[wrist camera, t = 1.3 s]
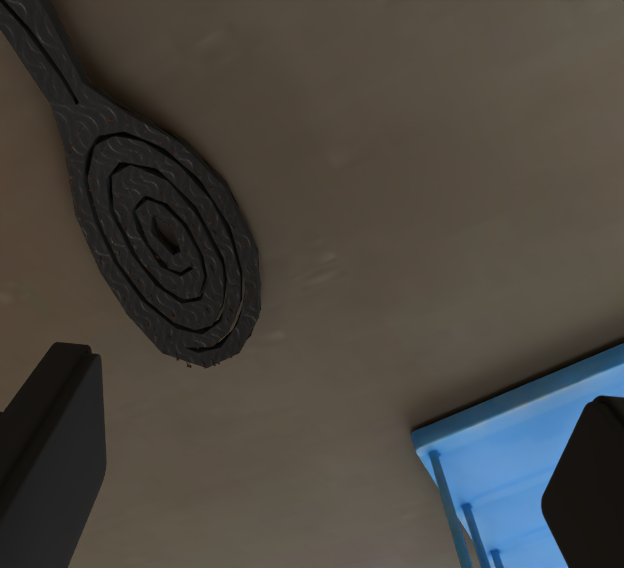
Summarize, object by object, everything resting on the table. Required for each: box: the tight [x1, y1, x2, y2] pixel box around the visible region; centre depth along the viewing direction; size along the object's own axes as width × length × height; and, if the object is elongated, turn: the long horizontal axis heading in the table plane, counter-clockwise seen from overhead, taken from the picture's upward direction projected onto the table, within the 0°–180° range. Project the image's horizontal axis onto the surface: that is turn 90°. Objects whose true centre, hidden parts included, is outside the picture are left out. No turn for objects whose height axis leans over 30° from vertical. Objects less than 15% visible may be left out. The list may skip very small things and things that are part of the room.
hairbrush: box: [0, 0, 261, 368], centre depth 25 cm, size 8×4×25 cm
